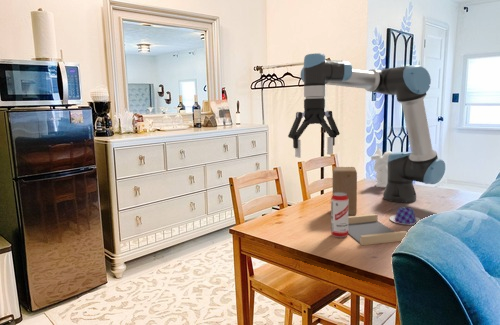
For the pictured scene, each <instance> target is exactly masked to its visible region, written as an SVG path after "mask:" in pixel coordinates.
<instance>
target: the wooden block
mask: <svg viewBox="0 0 500 325" xmlns="http://www.w3.org/2000/svg"><path fill="white" fill-rule="evenodd" d="M357 191H358V172H357V170H356V167H355V166H334V167H333V168H332V194H333V193H335V192H344V193H347V197H348V199H349V212H348V217H349V216H357V212H358V211H357V210H358V209H357V206H358V205H357V201H358V200H357V199H358V197H357V195H358V194H357V193H358V192H357Z"/></svg>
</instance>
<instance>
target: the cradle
mask: <svg viewBox="0 0 500 325" xmlns="http://www.w3.org/2000/svg"><path fill="white" fill-rule="evenodd" d="M378 220H379V219H378V214H377V213H370V214H360V215H355V216H348V235H349V236H350V237H351V238H353V239H354V241H356V242H358V244H360V245H361V246H367V245H369V246H370V245H377V244H378V245H379V244H386V243H387V244H388V243H395V242H396V243H397V242H403V241H402V239H403V238H404V237H405V235H406V233H407V234H408V231H406V230H401V231H395V230H393V229H391V228H389V227H387V226H386V225H385V224H383V223H382V222H379V221H378Z"/></svg>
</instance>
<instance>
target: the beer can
mask: <svg viewBox="0 0 500 325" xmlns="http://www.w3.org/2000/svg"><path fill="white" fill-rule="evenodd" d="M330 204H331V205H330V213H331V214H330V223H331V224H330V233H331V235H333V237H335V238H338V239H340V238H341V239H342V238H346V237H347V236H348V235H349V234H348V217H349V216H348V212H349V199H348V197H347V193H344V192H335V193H333V192H332V195H331V198H330Z"/></svg>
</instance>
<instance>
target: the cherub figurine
mask: <svg viewBox="0 0 500 325" xmlns="http://www.w3.org/2000/svg"><path fill="white" fill-rule="evenodd" d="M382 152H383V151H382V149H381V148H380V147H379V146H377V147H376V151H375V153H374V155H372V156H371V157H370V159H371V161H375V162H374V166H373V171H374V172H375V173H376V174H375V178H376V182H375V183H374V186H375V187H376V188H382V189H383V188H386V185H387V180H388V156H389V155H390V154H392V153H394V152H393V151H391V150H388V151H385V152H383V154H382Z"/></svg>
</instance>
